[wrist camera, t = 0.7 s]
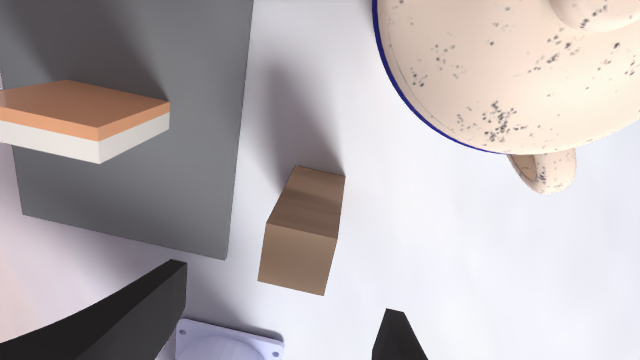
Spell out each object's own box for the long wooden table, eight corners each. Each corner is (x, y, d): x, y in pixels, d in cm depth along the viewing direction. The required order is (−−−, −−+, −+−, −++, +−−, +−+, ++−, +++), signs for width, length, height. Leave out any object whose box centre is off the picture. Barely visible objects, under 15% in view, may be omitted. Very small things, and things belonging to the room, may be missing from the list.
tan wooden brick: (335, 220, 22) (323, 296, 16) (287, 209, 23) (257, 281, 16) (345, 176, 21) (337, 239, 15) (295, 165, 21) (266, 223, 15)
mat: (226, 256, 24) (224, 260, 24) (27, 211, 25) (22, 214, 24) (254, -6, 18) (251, -7, 18) (-13, -61, 19) (-21, -63, 18)
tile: (169, 128, 21) (99, 163, 15) (69, 107, 21) (-35, 134, 16) (169, 101, 20) (97, 127, 15) (67, 79, 20) (-43, 97, 15)
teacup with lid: (341, -49, 17) (303, -182, 6) (548, -152, 15) (1022, -622, 4) (417, 175, 21) (474, 329, 10) (592, 118, 19) (901, 238, 8)
